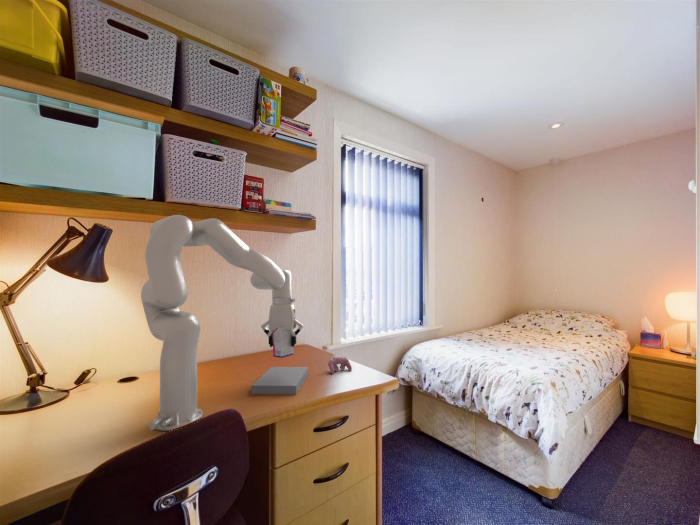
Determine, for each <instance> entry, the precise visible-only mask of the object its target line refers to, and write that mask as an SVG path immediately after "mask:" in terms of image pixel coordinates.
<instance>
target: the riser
mask: <svg viewBox="0 0 700 525" xmlns="http://www.w3.org/2000/svg"><path fill="white" fill-rule="evenodd" d="M308 375H309V367H308V366H270V367H269V368H268V370H266V372H264V373H263V374H262V375H261V376H260V377H259V378H258V379H257V380H256V381H255V382H254V383H253V384H252V385H251V395H297V394H296V393H298V392H299V391H300V389H301V387H302V386H301V385H303V384H304V382H305V381H306V380H307V379H306V378H307V377H308ZM298 390H299V391H298Z"/></svg>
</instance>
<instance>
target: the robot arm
mask: <svg viewBox="0 0 700 525" xmlns="http://www.w3.org/2000/svg"><path fill="white" fill-rule="evenodd" d="M204 246H209V248H211V249H212V250H214V251H215V252H216V253H217V254H218V255H219V256H220V257H222V259H224V260H225V261H226V262H228V263H229V265H232V266H233V267H236V268H239V269H242V270H247V271H249V272H251V273H252V274H251V276H250V284H251V286H252V287H253V288H255V289H256V290H270V291H271V296H272V297H271V298H272V299H271V300H272V301H271V305H270V306H269V314H268V320H267V321H266V322H264V323H263V324H262V325H261V326H260V327H261V329H262V330H263V332H264V333H265V335H266V336H267V337H268V345H269V347H270V348H273V340H272V333H273V331H275V330H276V328H277V327H285V330H286V331H290V332H291V334H292V337H291V346H292V347H293V348H294V347H295V345H297V335H298V334H299V333H300V332H301V330H302V329H303V328H304V324H303V323H302V322H300V321H299V320H297V317H296V316H297V314H296V309H295V304H294V302H296V298H294V297H293V296H292V295H293V294H292V292H293V291H292V272H291V271H290V270H288V269H281V268H280V267H279V266H278V265H277V264H276V263H275V262H274V261H273V260H271V259H270V258H269V257H268V256H266V255H264V254H263V253H261V252H258V251H257V250H255V249H253V248H252V247H250V246H248V245H247V244H246V243H245V242H244V241H243V240H242V239H240V238H239V237H238V235H237V234H236V233H235V232H233V231H232V229H231V228H229V227H228V226H227V225H226V224H225V222H223V221H222V220H220V219H218V218H213V217H212V218H211V217H210V218H206V219H202V220H197V221H192V220H191V219H190V218H189V217H188V216H185V215H182V214H172V215H170V216H166V217H164V218H161V219H158V220H156V221H155V222H153V224H151V226H150V228H149V239H148V241H147V243H146V247H145V254H144V258H145V265H146V270H147V275H148V280H147V281H145V283H144V284H143V286H142V287H141V291H140V299H141V303H142V307H143V311H144V316H145V319H146V323H147V327H148V328H149V332H150V333H151V335H152V336H153V337H154V338H155V339H157V340H159V341H163V342H162V346H161V352H160V359H159V360H160V361H159V411H157V417H155V418H154V420H152V421H151V422H149V424H148V428H149V429H150V430H158V431H166V432H167V431H168V432H169V431H174V430H173V429H175V428H178V427H180V426H182V425H185V424H187V423H190V422H193V421H195V420H198V419H200V418H201V419H202V418H203V413H204V412H203V410H202V409H201V408H199V407H198V348H199V347H198V346H199V341H200V335H201V324H200V322H199V319H198V318H197V317H196V316H195V315H194V314H192V313H190V312H188V311H181V310H180V307H182V306H183V305H184V304H185V303H186V302H187V300H188V297H189V296H188V295H189V294H188V293H189V292H188V287H187V283H186V279H185V275H184V272H183V267H182V262H181V261H182V260H181V252H182V249H183V247H204ZM267 326H268V328H267ZM297 326H298V327H297ZM296 328H297V329H296ZM201 419H200V420H201Z"/></svg>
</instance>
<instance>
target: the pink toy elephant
mask: <svg viewBox="0 0 700 525" xmlns="http://www.w3.org/2000/svg"><path fill="white" fill-rule="evenodd" d="M338 365H339V366H338ZM327 366H328V369H329V372H330V373H331V374H332V375H334V374H335V372H337V371H339V369H340V371H344V370H346V368H347V370H348V371H350V372H352V370H353V368H352V367H353V366H352V365H351V362H350V361H349V359H348V358H347V357H345V356H336V357H332V358H331V359H329V360H328V362H327Z"/></svg>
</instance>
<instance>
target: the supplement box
mask: <svg viewBox="0 0 700 525" xmlns="http://www.w3.org/2000/svg"><path fill="white" fill-rule="evenodd" d="M291 337H292V334H291V332H290V331H286V330H285V327H277V328H276V330H275V331H273V333H272V340H273V346H272V357H275V358H279V359H280V358H281V359H283V358H286V357H287V358H288V357H290V356H293V355H294V347H292V346H291Z"/></svg>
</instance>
